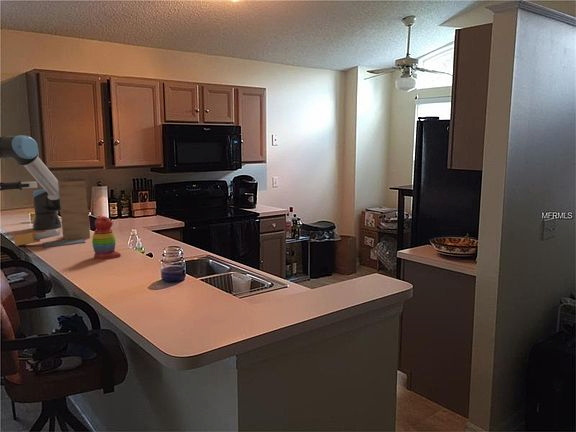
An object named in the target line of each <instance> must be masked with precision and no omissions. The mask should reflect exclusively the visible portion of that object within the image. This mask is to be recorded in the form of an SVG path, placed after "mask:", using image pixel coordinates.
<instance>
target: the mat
mask: <svg viewBox="0 0 576 432" xmlns="http://www.w3.org/2000/svg"><path fill="white" fill-rule="evenodd" d="M79 244H86V241H85V239H82V238H81V239H72V240H64V239H62V240H56V241H48V242H43V244H42V245H43V246H44V248H51V247H52V248H53V247H62V246H69V245H70V246H71V245H79Z"/></svg>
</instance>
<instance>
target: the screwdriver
mask: <svg viewBox="0 0 576 432" xmlns="http://www.w3.org/2000/svg"><path fill="white" fill-rule="evenodd" d="M60 235H61V232H60V230H59V228H55V229H49V230H45V231H43V232H39V231H34V232H28V233H23V234H22V233H21V234H18V235H13V242H14V246H15V247H21V246H25V245H30V244H34V243H38V242H39V243H40V242H41V240H44V239H48V238H53V237H57V236H60Z"/></svg>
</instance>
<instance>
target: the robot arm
mask: <svg viewBox="0 0 576 432" xmlns="http://www.w3.org/2000/svg"><path fill="white" fill-rule="evenodd" d="M38 146H39V145H38V142H37V141H36V140H35V139H34V138H32V137H31V136H29V135H3V136H0V159H4V160H6V159H7V160H9V159H10V160H11V159H12V160H14V161H15V162H16V164H17V165H19V166H23V167H24V168H25V170H27V172H28V173H29V174H30V175H31V176H32V177H33V178H34V179H35V180H36V181H21V180H19V181H17V182H3V181H2V182H1V181H0V191H5V190H6V191H8V190H20V191H23V189H33V188H34V189H35V188H37V189H38V184H39V186H41V187H42V189H38V190H34V191H33V193H32V200H33V201H32V202H33V208H34V219H33V224H32V229H33V230H35V231H36V230H38V231H43V230H44V231H48V230H55V229H59V228H62V220H60V217H59V215H58V211H59V212H61V209H60V198H59V187H58V179H57V177H56V176H55V175H54V174H53V172H51V171H50V169H49V168H48V167H47V165H46V164H45V163H44V162H43V161H42V159H41V158H40V157H39V154H40V153H39V147H38Z"/></svg>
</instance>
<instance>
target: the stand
mask: <svg viewBox="0 0 576 432" xmlns="http://www.w3.org/2000/svg"><path fill="white" fill-rule="evenodd" d="M57 180H58V187H59V198H60V209H61V211H60V218H61V220H60V221H61V231H62V240H72V239H81V238H82V239H83V240H86V239H87V240H88V239H91V228H90V229H89V222H90V216H89V217H88V215H89V209H88V196H87V195H88V193H87V186H86V185H87V184H86V178H84V177H73V178H72V177H71V178H68V177H67V178H58V179H57Z"/></svg>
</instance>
